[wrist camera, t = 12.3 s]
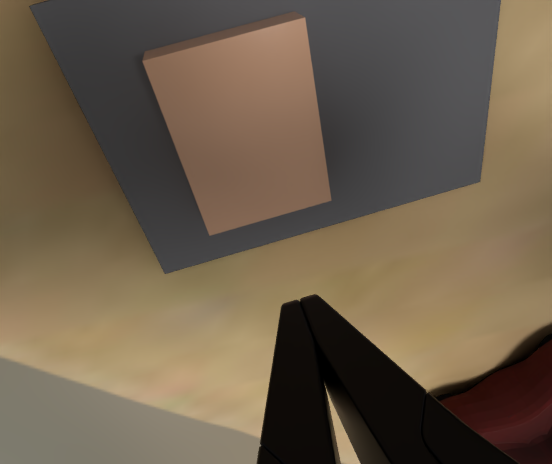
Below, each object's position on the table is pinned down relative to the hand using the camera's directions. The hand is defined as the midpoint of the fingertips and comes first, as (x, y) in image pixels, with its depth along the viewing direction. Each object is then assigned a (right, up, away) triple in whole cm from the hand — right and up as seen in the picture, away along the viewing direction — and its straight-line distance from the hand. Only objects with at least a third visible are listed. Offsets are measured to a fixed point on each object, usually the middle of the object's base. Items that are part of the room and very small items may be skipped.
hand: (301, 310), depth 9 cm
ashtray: (+21, -13, +30) cm, 39 cm away
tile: (+1, +7, +8) cm, 11 cm away
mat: (+1, +7, +10) cm, 12 cm away
